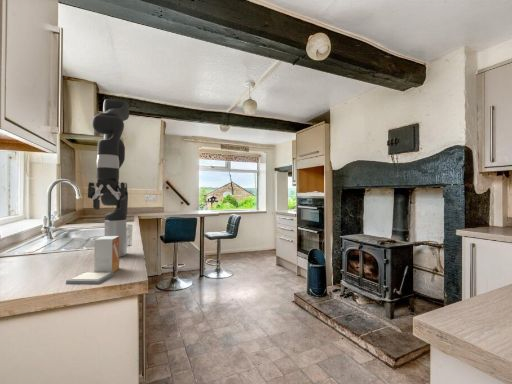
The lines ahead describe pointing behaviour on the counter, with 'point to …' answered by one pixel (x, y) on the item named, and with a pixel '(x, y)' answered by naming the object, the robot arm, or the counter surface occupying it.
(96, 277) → the board
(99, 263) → the small box
